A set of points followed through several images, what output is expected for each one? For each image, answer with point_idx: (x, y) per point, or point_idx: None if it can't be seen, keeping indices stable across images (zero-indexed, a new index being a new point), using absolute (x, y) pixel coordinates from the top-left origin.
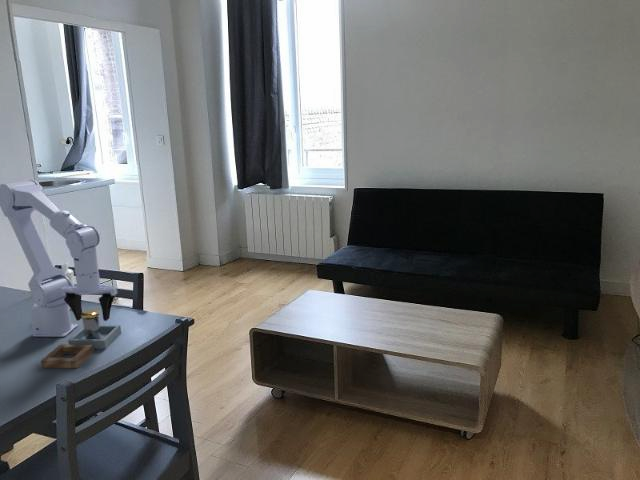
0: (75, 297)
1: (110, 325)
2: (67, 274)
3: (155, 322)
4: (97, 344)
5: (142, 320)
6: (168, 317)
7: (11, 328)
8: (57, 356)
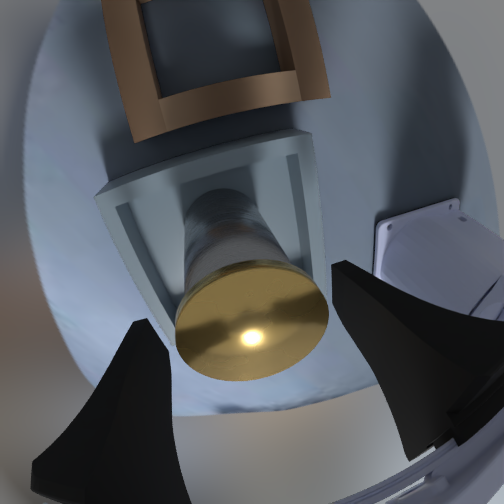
0: (440, 416)
1: None
2: None
3: None
4: (138, 174)
5: (188, 390)
6: None
7: (492, 228)
8: (274, 24)
